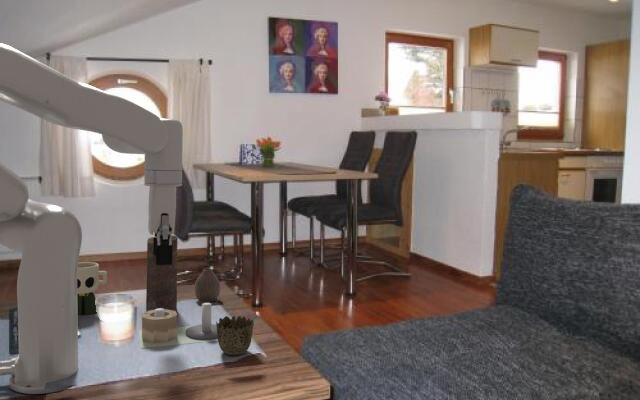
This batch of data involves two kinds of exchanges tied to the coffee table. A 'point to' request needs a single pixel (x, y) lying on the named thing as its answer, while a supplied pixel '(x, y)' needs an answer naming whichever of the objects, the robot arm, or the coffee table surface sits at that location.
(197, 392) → the coffee table surface
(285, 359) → the coffee table surface
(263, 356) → the coffee table surface
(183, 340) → the hub board
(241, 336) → the fiber plant pot
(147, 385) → the coffee table surface
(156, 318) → the collar
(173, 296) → the brown log
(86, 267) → the character mug
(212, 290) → the vase
